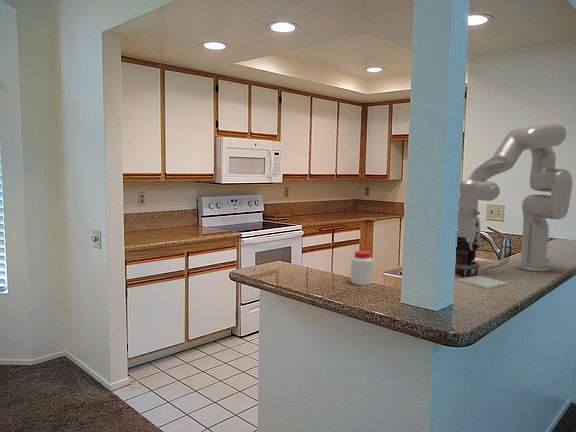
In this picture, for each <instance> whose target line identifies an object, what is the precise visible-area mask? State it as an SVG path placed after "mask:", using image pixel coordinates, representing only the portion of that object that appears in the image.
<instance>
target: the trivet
mask: <svg viewBox="0 0 576 432" xmlns="http://www.w3.org/2000/svg"><path fill="white" fill-rule="evenodd" d="M457 282H459V283H462V284H466V285H470V286H473V287H478V288H481V289H484V290H490V289H494V288H500V287H504V286H508V282H506V281H502V280H497V279H493V278H489V277H485V276H481V275H479V276H468V278H462V277H461V278H458V279H457Z"/></svg>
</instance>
